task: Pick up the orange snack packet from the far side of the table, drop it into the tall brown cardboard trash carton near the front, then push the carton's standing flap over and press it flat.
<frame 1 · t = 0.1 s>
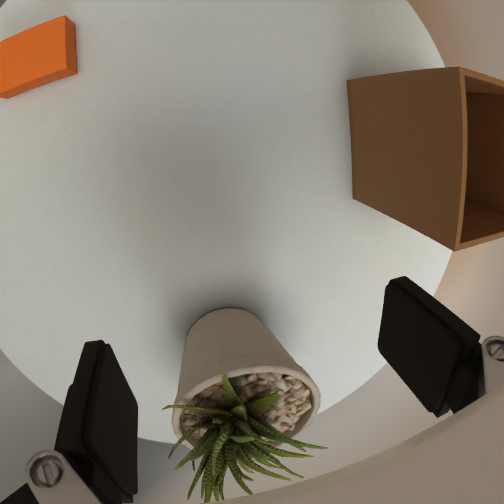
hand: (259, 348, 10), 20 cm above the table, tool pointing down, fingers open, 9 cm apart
packet: (39, 61, 19), on the table
carton: (394, 138, 30), on the table
potted plant: (223, 335, 34), on the table
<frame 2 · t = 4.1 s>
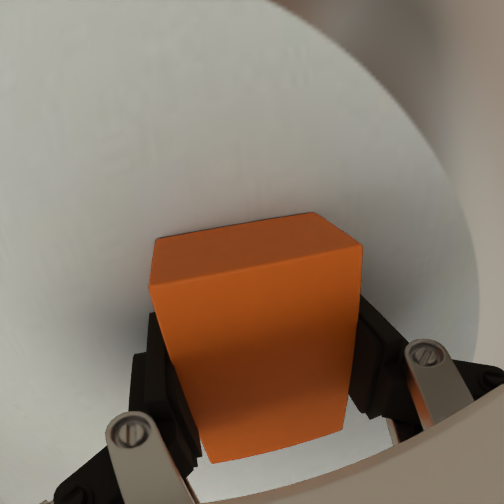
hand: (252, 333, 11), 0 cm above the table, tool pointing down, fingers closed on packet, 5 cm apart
packet: (250, 325, 11), on the table, touching gripper
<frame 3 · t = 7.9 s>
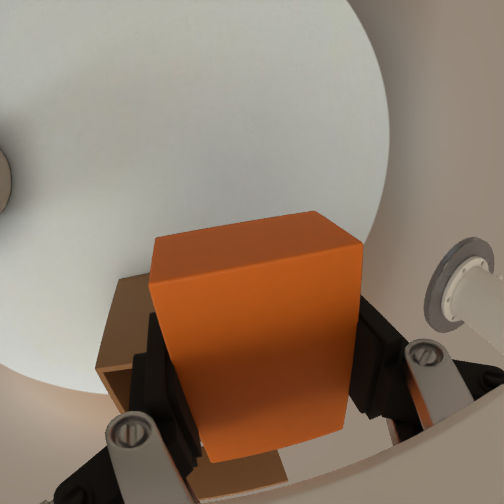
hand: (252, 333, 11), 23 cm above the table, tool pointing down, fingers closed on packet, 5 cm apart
carton flap: (211, 471, 22), point 18 cm above the table, hinge at 95.0°
packet: (250, 324, 11), point 23 cm above the table, touching gripper
carton: (181, 311, 36), on the table
when the fingers open (13 cm above the table, at t = 11.7 s): packet drops 12 cm, resting on carton.
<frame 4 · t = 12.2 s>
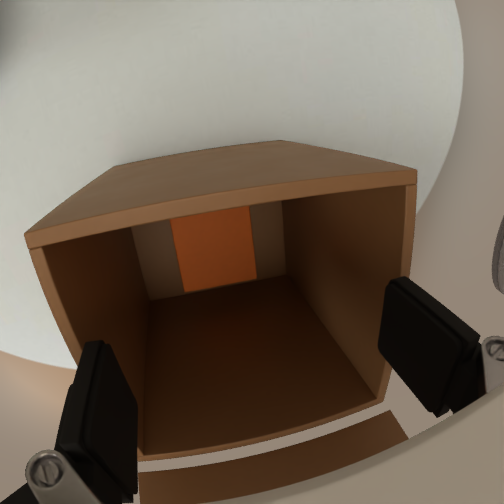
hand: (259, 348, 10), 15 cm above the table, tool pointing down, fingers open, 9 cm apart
carton flap: (288, 503, 10), point 18 cm above the table, hinge at 95.0°
packet: (208, 220, 23), resting on carton
carton: (208, 225, 23), on the table
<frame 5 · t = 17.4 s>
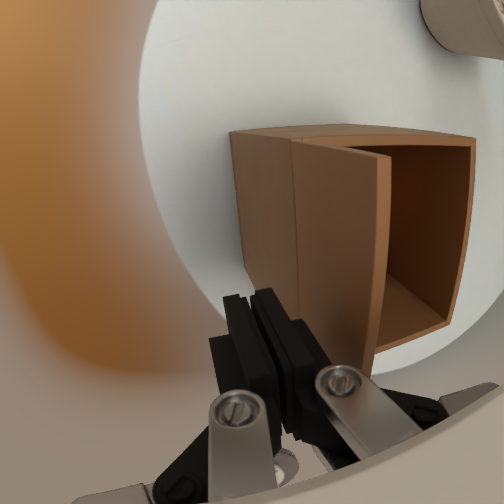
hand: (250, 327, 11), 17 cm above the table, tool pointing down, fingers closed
carton flap: (329, 324, 11), point 18 cm above the table, hinge at 90.2°, touching gripper
carton: (298, 194, 28), on the table
potted plant: (446, 23, 24), on the table
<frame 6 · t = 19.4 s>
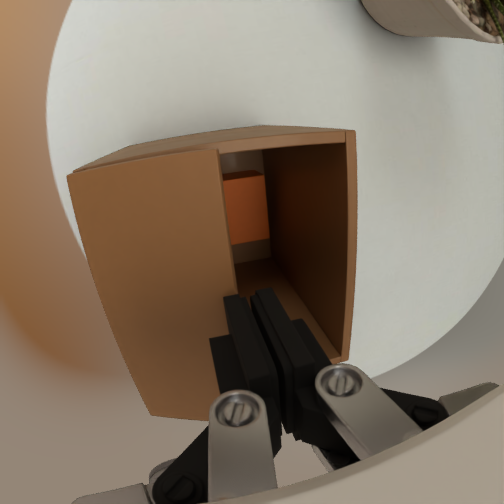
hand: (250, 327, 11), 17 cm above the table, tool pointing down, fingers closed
carton flap: (170, 322, 12), point 16 cm above the table, hinge at 17.9°
packet: (213, 205, 26), resting on carton
carton: (206, 205, 26), on the table
potted plant: (393, 4, 22), on the table
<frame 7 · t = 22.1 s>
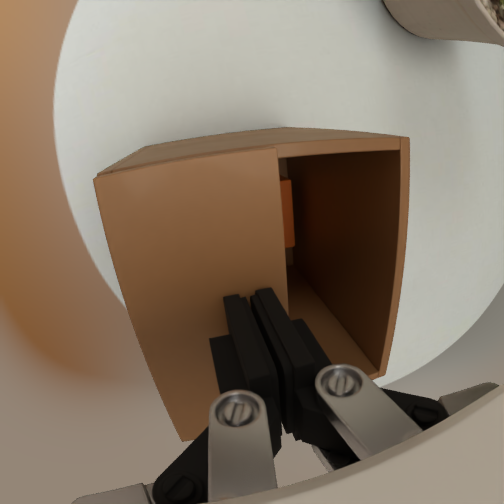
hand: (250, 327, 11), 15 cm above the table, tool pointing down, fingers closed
carton flap: (214, 332, 11), point 15 cm above the table, hinge at -0.5°, touching gripper
packet: (234, 211, 25), resting on carton
carton: (226, 210, 25), on the table
potted plant: (413, 5, 21), on the table
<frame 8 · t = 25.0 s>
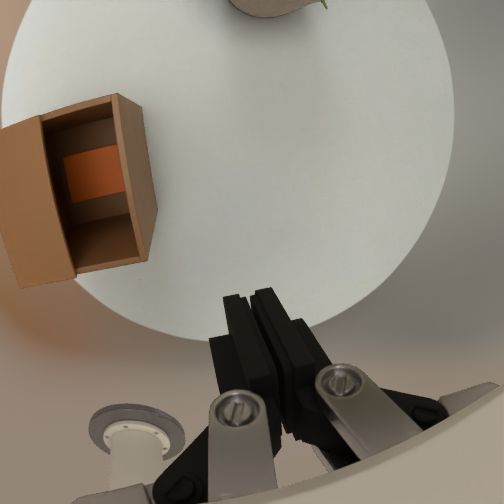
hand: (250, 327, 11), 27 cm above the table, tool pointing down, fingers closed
carton flap: (24, 207, 18), point 15 cm above the table, hinge at -0.5°
packet: (105, 168, 32), resting on carton
carton: (102, 169, 32), on the table
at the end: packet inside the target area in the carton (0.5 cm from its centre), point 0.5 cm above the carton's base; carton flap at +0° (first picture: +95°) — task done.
